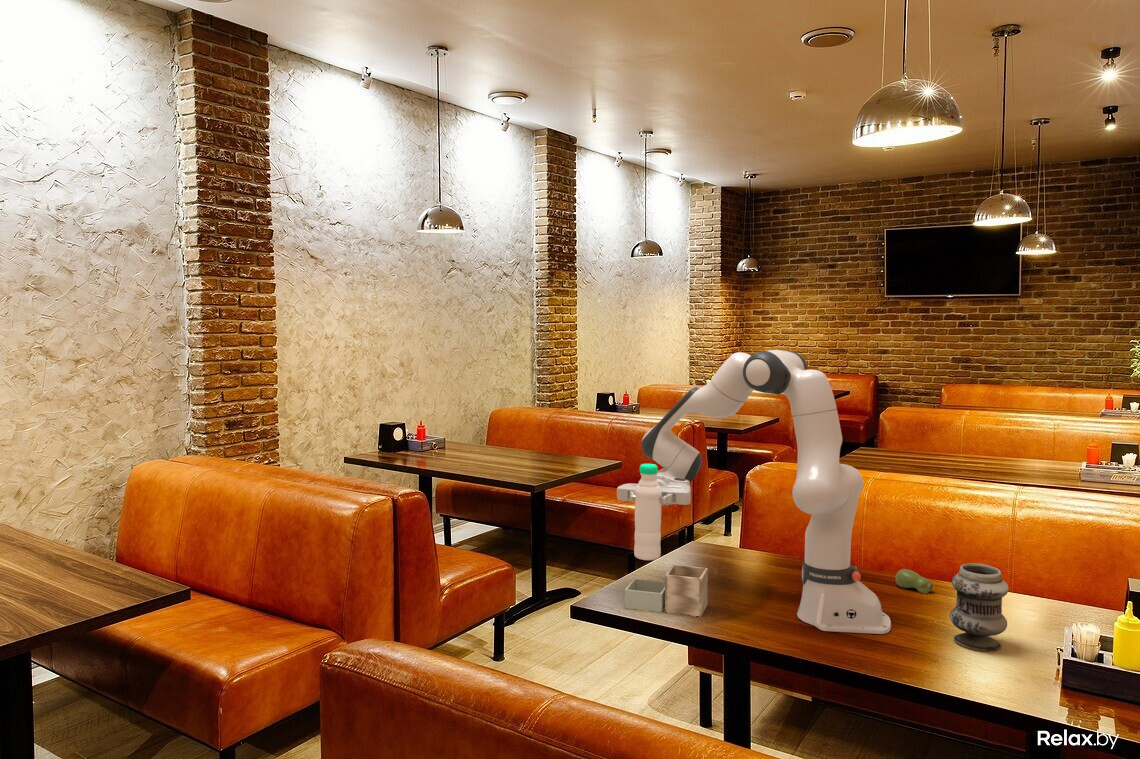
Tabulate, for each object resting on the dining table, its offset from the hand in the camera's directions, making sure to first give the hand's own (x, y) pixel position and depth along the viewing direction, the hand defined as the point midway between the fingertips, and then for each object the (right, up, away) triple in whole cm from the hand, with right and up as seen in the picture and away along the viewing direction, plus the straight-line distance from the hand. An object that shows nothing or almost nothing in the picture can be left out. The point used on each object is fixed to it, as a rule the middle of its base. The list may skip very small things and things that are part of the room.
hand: (647, 500), depth 210 cm
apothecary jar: (+75, -30, -24) cm, 84 cm away
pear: (+77, -28, +14) cm, 83 cm away
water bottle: (0, -16, +2) cm, 16 cm away
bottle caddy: (0, -28, +3) cm, 29 cm away
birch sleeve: (+10, -29, -1) cm, 30 cm away
